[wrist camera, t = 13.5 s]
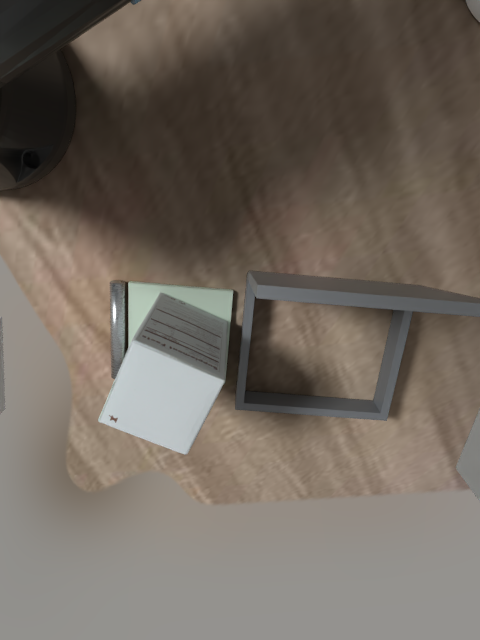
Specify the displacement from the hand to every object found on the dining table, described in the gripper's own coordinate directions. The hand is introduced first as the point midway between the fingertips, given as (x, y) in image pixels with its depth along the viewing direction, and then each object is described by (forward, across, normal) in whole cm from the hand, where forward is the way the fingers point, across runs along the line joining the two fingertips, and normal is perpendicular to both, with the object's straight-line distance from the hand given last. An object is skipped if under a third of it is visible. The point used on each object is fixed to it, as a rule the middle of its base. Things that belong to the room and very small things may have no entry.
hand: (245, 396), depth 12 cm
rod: (+30, -10, -11) cm, 34 cm away
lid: (+20, +9, -2) cm, 22 cm away
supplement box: (+29, -4, -11) cm, 32 cm away
